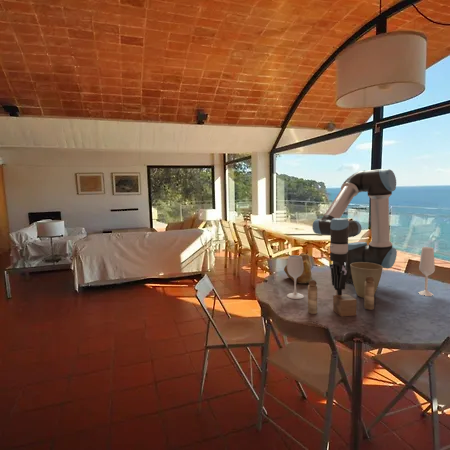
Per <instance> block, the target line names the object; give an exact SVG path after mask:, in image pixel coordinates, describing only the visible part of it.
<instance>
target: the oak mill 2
mask: <svg viewBox="0 0 450 450" xmlns="http://www.w3.org/2000/svg"><path fill="white" fill-rule="evenodd" d="M374 285H375V283H374V279H373V277H371V276H368V277H366V281H365V295H364V298H363V299H364V300H363V301H364V303H363V305H364V307H363V308H364V310H365V309H366V310H369V311H370V310H374V309H375V294H374Z"/></svg>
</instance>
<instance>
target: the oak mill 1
mask: <svg viewBox="0 0 450 450" xmlns="http://www.w3.org/2000/svg"><path fill="white" fill-rule="evenodd" d="M317 284H318V283H317V281H316V280H315V279H312V280H310V281H309V283H308V285H307V313H308V314H310V315H311V314H312V315H315V314H317V313H318V285H317Z"/></svg>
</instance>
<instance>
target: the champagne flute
mask: <svg viewBox="0 0 450 450" xmlns="http://www.w3.org/2000/svg"><path fill="white" fill-rule="evenodd" d="M435 264H436V263H435V251H434V247H432V246H422V247H421V254H420V259H419V266H418V269H419V272H421V274H422V275H424V290H421V291H418V292H417V294H418V293H419V294H418V295H421V296H424V295H425V296H424V297H433V296H434V294H433V293H432V292H430V291H429V290H428V284H429V283H428V282H429V280H428V279H429V276H431V275H433V273H434V272H435V270H436V265H435ZM432 295H433V296H432Z"/></svg>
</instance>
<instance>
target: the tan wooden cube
mask: <svg viewBox="0 0 450 450" xmlns="http://www.w3.org/2000/svg"><path fill="white" fill-rule="evenodd" d="M332 296H333V297H332V298H333V299H332V301H333V302H332V303H333V304H332V306H333V307H332V310H333V312H335V313H336V314H337V315H339V317H351V316H352V317H353V316H357V302H358V301H357V299H356V298H354V297H353V296H351V295H350V294H347V293H346V294H342V295H335V294H333V295H332Z"/></svg>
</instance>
